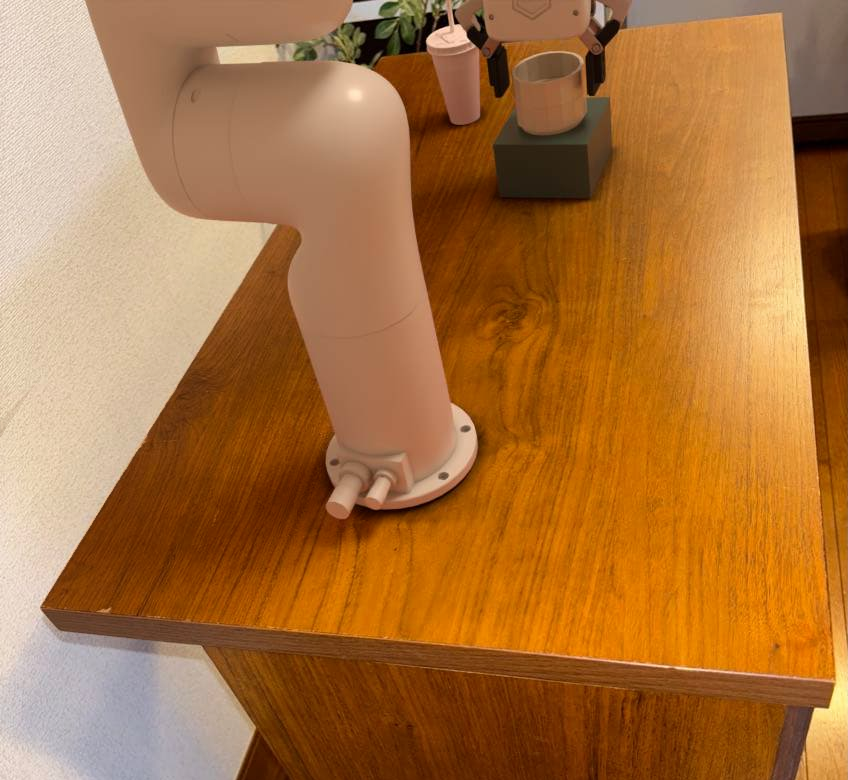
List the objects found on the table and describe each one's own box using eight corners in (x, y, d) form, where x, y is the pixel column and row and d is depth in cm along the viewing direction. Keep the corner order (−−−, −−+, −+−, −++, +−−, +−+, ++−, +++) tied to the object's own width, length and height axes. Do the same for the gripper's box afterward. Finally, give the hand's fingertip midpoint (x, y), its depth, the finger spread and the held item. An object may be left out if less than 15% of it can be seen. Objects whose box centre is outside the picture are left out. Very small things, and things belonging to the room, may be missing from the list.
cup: (577, 137, 99) (573, 82, 95) (509, 137, 102) (502, 84, 98) (594, 103, 103) (591, 49, 99) (528, 104, 106) (523, 52, 102)
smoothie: (492, 101, 121) (476, -20, 111) (489, 126, 117) (473, 2, 107) (441, 108, 123) (421, -11, 112) (437, 133, 118) (415, 11, 108)
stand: (590, 199, 102) (587, 144, 98) (499, 197, 106) (492, 144, 101) (612, 150, 108) (610, 96, 104) (525, 150, 112) (519, 98, 107)
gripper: (428, -79, 88) (456, 109, 101) (618, -96, 82) (624, 107, 95) (455, -106, 93) (479, 77, 105) (637, -124, 87) (640, 72, 99)
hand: (547, 91), depth 100 cm, fingers open, 9 cm apart
